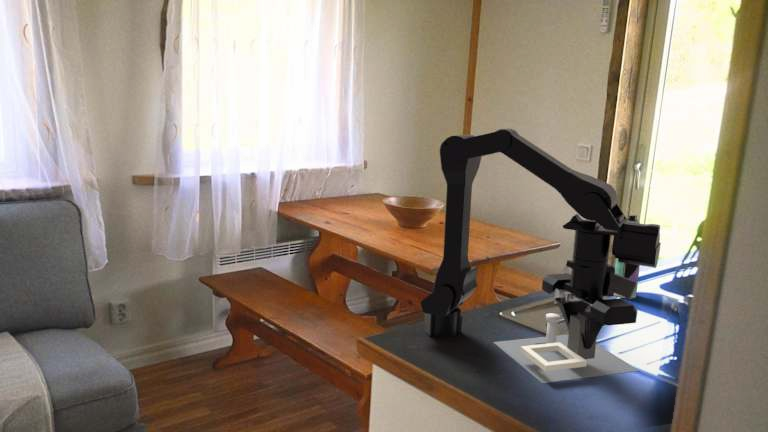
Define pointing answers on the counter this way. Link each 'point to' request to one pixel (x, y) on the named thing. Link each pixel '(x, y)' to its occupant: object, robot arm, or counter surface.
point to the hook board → (563, 357)
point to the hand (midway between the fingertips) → (581, 344)
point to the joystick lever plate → (562, 350)
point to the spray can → (628, 266)
